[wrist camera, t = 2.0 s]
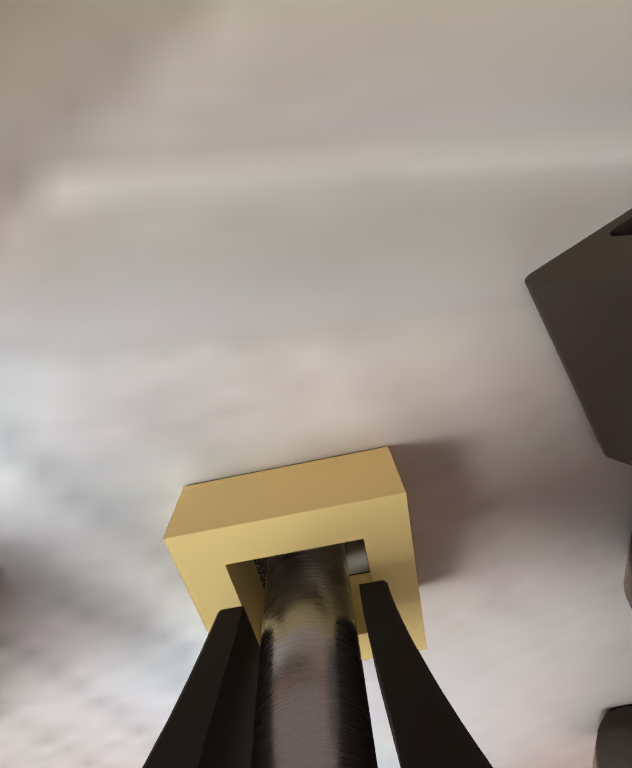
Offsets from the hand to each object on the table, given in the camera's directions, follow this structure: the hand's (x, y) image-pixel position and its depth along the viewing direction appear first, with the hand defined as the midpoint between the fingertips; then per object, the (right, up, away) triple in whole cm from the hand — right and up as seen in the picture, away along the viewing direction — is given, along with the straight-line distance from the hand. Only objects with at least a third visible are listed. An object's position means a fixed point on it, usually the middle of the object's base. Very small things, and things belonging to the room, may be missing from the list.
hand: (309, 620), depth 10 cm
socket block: (0, +1, +2) cm, 3 cm away
